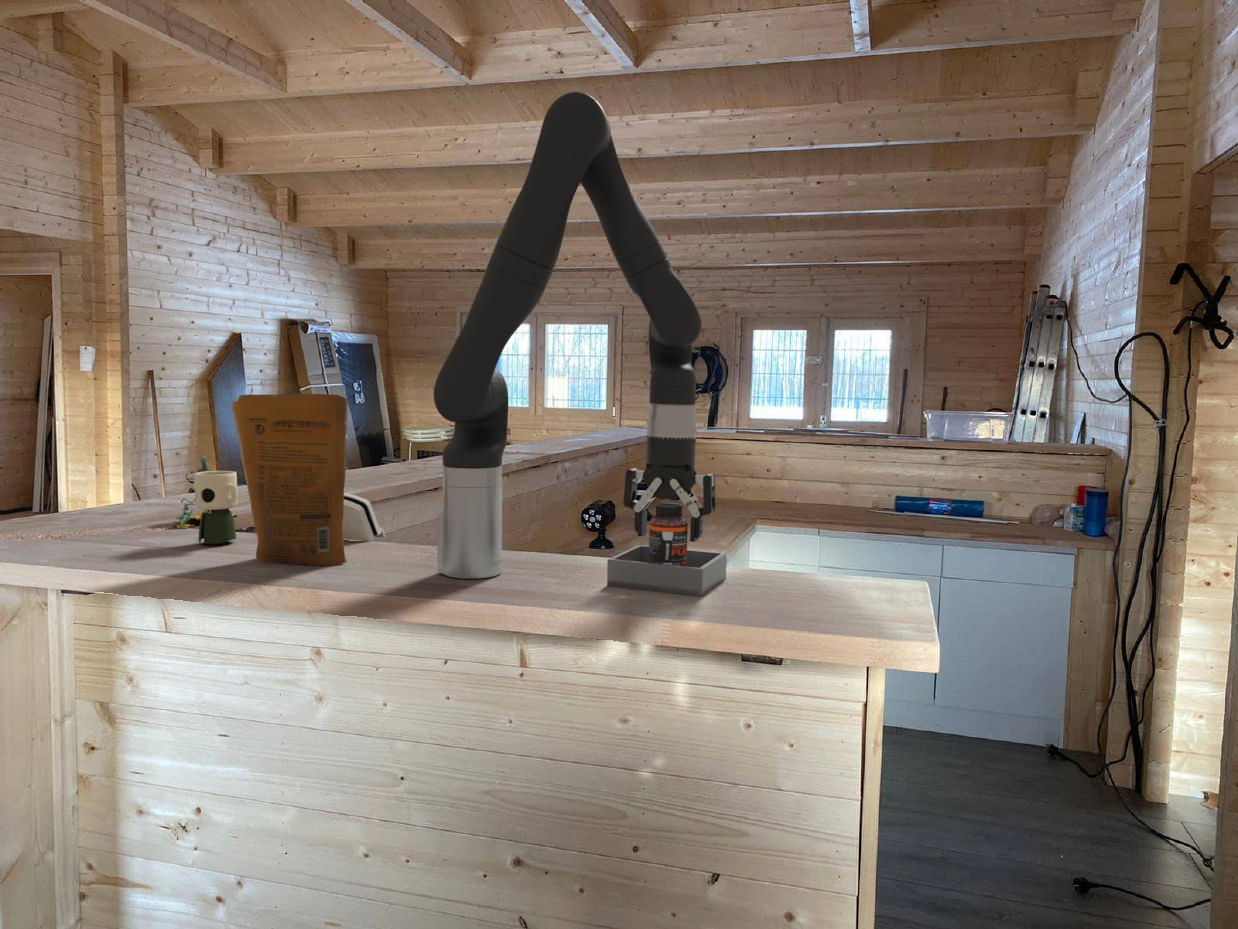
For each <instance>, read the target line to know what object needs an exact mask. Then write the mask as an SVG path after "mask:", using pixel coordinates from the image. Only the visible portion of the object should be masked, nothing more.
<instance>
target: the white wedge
mask: <svg viewBox="0 0 1238 929" xmlns="http://www.w3.org/2000/svg"><path fill="white" fill-rule="evenodd" d="M371 503H372V502H370V501H369V500H368V499H366V498H364V497H362V496H361V497H360V496H359V495H355V494H352V493H348V492H344V514H343V522H342V532H343V540H353V541H363V542H373V541H374V540H376V539H375V537H378V538H385V537H386V535H385V534H386V533H385V531H384V528H383V527H380V525H379V523H378V520H377V517H376V514H375V512H374V509H373V507H372V504H371Z"/></svg>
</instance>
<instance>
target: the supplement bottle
mask: <svg viewBox="0 0 1238 929" xmlns="http://www.w3.org/2000/svg"><path fill="white" fill-rule="evenodd" d="M655 512H656V513H655V515H654V516H653V517H652V518H651V519H650V520H649V528H648V529H649V533H648V534H649V535H648V538H649V539H648V546H649V563H657V564H666V565H676V566H686V567H687V549H688V532H689V531H688V526H689V525H688V521H687V519H686V518H685V517H684V515H683V514H682V513H683V506H682V504H681V503H679V502H678V503H676V502H658V503H656V505H655Z"/></svg>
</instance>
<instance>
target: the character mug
mask: <svg viewBox="0 0 1238 929" xmlns="http://www.w3.org/2000/svg"><path fill="white" fill-rule="evenodd" d="M193 474H194V475H193V477H194V479H193V483H194V487H193V489H194V488H195V492H194V493H195V494H194V499H195V501H194V502H193V503H194V504H195V505H194V506H195V507H196V509H200V510H202V512H203V513H202V515H201V519H200V520H199V527H198V543H202V540H203V543H204V544H207V545H208V544H210V545H211V544H220V545H224V544H225V543H226V542H229V541H233V540H236V539H237V534H236V527H235V522H234V517H233V515H232V514H233V513H232V511H231V510H230V509H232V508H235V507H237V505H238V476H237V471H233V470H221V471H217V470H210V471H205V472H198V473H197V472H194V473H193Z"/></svg>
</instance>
